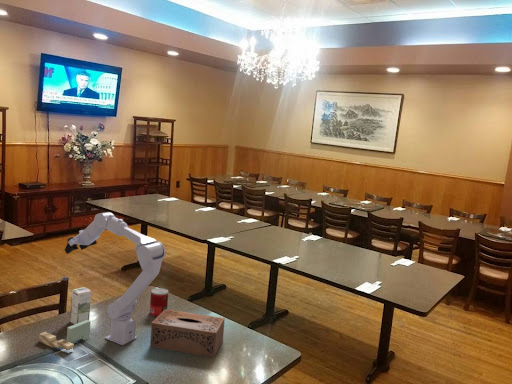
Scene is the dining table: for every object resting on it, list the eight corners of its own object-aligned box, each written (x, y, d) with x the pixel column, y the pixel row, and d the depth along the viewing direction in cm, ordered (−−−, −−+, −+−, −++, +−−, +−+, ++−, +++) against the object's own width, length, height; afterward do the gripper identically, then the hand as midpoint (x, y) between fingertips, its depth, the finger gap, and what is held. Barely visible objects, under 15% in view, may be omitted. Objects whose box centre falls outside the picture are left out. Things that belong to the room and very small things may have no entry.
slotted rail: (73, 351, 155) (73, 344, 155) (67, 354, 153) (68, 346, 153) (45, 339, 162) (45, 331, 162) (39, 341, 160) (39, 333, 160)
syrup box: (82, 318, 183) (84, 286, 181) (89, 323, 179) (91, 290, 178) (69, 322, 179) (71, 289, 177) (76, 326, 175) (78, 293, 173)
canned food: (164, 317, 191) (166, 294, 190) (147, 316, 191) (149, 292, 190) (168, 311, 199) (170, 288, 198) (151, 309, 199) (153, 287, 198)
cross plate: (86, 336, 167) (86, 319, 167) (89, 337, 166) (90, 321, 166) (66, 345, 159) (67, 327, 159) (70, 346, 159) (71, 328, 158)
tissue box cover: (150, 347, 164) (151, 322, 163) (163, 331, 178) (165, 309, 177) (214, 358, 160) (216, 333, 159) (222, 341, 175) (224, 318, 174)
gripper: (100, 221, 179) (82, 238, 184) (73, 227, 166) (54, 245, 171) (108, 235, 178) (90, 252, 183) (81, 241, 164) (62, 259, 170)
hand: (73, 249), depth 177 cm, fingers open, 7 cm apart
